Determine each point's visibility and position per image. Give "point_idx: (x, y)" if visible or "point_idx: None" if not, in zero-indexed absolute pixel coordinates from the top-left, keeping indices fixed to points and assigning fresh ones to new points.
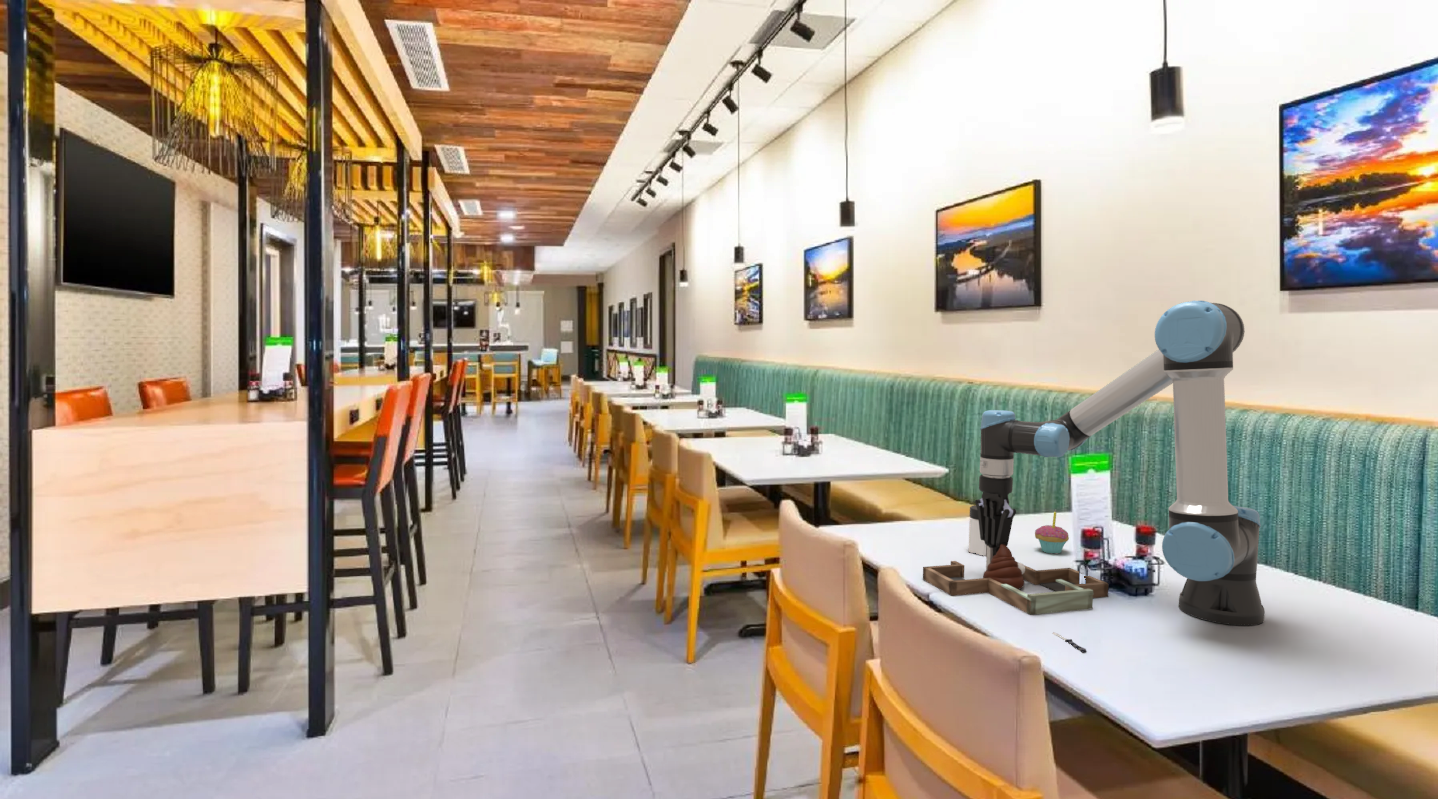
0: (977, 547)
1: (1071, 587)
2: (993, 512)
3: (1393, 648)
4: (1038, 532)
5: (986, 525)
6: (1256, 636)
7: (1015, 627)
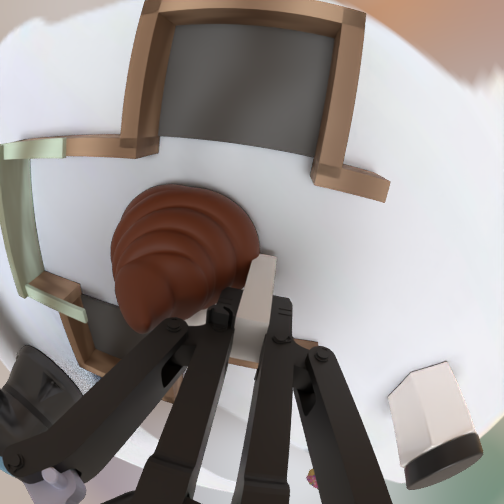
0: (431, 380)
1: (47, 294)
2: (133, 501)
3: None
4: None
5: (275, 423)
6: (7, 335)
7: (7, 77)
